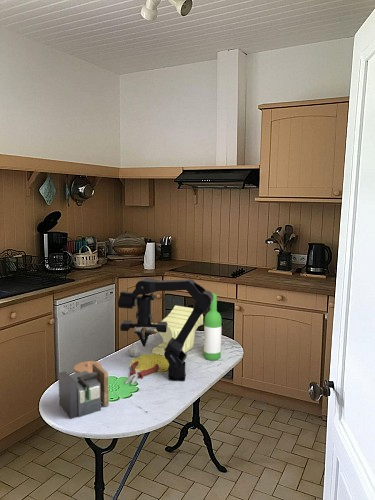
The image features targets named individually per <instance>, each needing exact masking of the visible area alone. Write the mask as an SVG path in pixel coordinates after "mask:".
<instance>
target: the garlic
mask: <svg viewBox="0 0 375 500" xmlns="http://www.w3.org/2000/svg"><path fill="white" fill-rule="evenodd" d="M127 352H128V355H129V356H131V357H132V358H134V357H135V358H136V357H137V356H139V355H140V354H141V349H140V347H139V346H138V345H136V344H132V346H130V347H128V350H127Z"/></svg>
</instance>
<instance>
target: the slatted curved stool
mask: <svg viewBox="0 0 375 500" xmlns="http://www.w3.org/2000/svg"><path fill="white" fill-rule="evenodd" d="M193 308H194V307H187V306H181V305H174V307H173V308H172V309H171V311H170V313H168V314H167V316H166V317H164V318H163V319H162V320H161V321H160V322H167V323H168V328H167V331H166V332H158V331H157V330H156V329H154V331H153V332H156V333H158V334H159V335H160V336H161V337H162V343H160V344H158V345H157V346H154V347H153V348H152V351H151V353H152V354H154V353H156V354H155V355H159V354H160V356H163V355H164V353H165V350H164V349H165V348H166V346H167V345H168V343H169V341H170V340H171V338H172V337H173V338H174V339H176V337H177V336H178V335H179V333H180V331H181V330H182V328H183V326H184V325H185V323H186V321H187V320H188V318H189V316H190V315H191V313H192V311H193ZM203 314H204V313H203ZM203 314H202V315H201V316H200V317H199V319H198V320H197V322H196V324H195V325H194V327H193V329H192V330H191V332H190V334H189V335H188V337H187V339H186V340H185V343H184V346H183V349H182V351H183V352H184V353H185V354H186V353H188V352H189V351H190V350H192V349H193V348H194V345H195V335H196V330H198V327H200V326H204V315H203ZM157 323H158V322H157ZM157 323H154V322H152V323H151V324H157Z"/></svg>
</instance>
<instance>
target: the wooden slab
mask: <svg viewBox="0 0 375 500" xmlns="http://www.w3.org/2000/svg"><path fill="white" fill-rule="evenodd" d="M92 371H93V373H89V374H85V375H81V376H77V379H78V380H79V381H80V382H81V383H82V384H84V385H85V386H86V387H87V400H89V384H88V383H87V382H86V381H84V380H83V379H86V378H90V377H94V378H95V379H96V380H98V381H99V382H100V389H101V405H103V407H106V406H109V372H108V371H107V370H105V369H104V367H103V366H102V367H101V366H99V365H98V364H97V363H94V364H92Z"/></svg>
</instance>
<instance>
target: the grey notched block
mask: <svg viewBox="0 0 375 500" xmlns="http://www.w3.org/2000/svg"><path fill="white" fill-rule="evenodd" d="M85 374H89V372H87V371H83V372H79V373H75V374H74V373H72V374H69V373H68V372H67V371H61V372H58V400H59V401H58V402H59V403H58V404H59V406H60V408H61V407H62V408H63V409H62V408H61V409H62V410H63V411H64V413H65V414H66V413H67V414H66V415H67V416H68V418H69V419H70V420H72V419H74V418H82V417H84V416H87V415H91V414H93V413H97V412H100V411H102V403H101V389H100V382H99V381H98V380H96V379H95V378H94V377H90V378H86V379H83V380H84V381H86V382H87V383H88V384H89V400H87V387H86V386H85V385H84V384H82V383H81V382H80V381H79V380H78V379H77V376H81V375H85Z"/></svg>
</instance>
